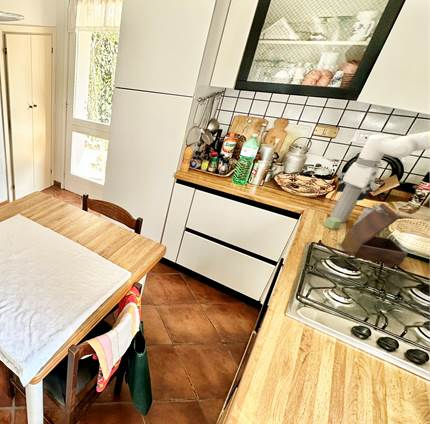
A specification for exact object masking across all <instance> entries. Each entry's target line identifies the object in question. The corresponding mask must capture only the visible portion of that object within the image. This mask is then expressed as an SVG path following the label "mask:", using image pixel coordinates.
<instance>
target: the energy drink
mask: <svg viewBox="0 0 430 424" xmlns="http://www.w3.org/2000/svg"><path fill="white" fill-rule="evenodd" d="M373 210H374V208H373V207H364V208H363V209H362V211H361V213H360V214H359V216H358V218H357V219H356V222H355V223H354V225H355V224H356V223H358V222H359V221H360V220H361V219H363V218H364V217H365V216H367V215H368V214H369V213H370V212H372V211H373Z"/></svg>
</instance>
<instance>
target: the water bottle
mask: <svg viewBox="0 0 430 424" xmlns="http://www.w3.org/2000/svg"><path fill="white" fill-rule="evenodd" d="M360 193H362V189H361V188H360V187H357V186H354V185H352V184H349V183H345V187H344V188H343V190H342V191H341V192H337V195H336V196H335V198H334V199H332V202H331V203H330V205H329V209H330V210H332V212H331V213H330V215H329V217H335V218H337V219H339V220H341V221H342V223H345V222H347V221H348V220H349V217H350V216H351V214H352V212H353V210H354V209H355V207H356V205H357V203H358V202H359V201H358V200H357V198H358V196H359V195H360ZM336 198H337V200H336ZM335 200H336V201H335ZM334 201H335V203H334ZM333 203H334V206H333V207H331V206H332V204H333Z"/></svg>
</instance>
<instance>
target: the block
mask: <svg viewBox="0 0 430 424" xmlns="http://www.w3.org/2000/svg"><path fill="white" fill-rule="evenodd" d="M342 223H343V222H342V221H341V220H339V219H337V218H335V217H330V216H329V217H327V218H326V220H325V221H324V223H323V226H325V227H327V228H329V229H331V230H336V229H337V230H338V229H339V228H340V227H341V224H342Z"/></svg>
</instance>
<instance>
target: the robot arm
mask: <svg viewBox="0 0 430 424" xmlns="http://www.w3.org/2000/svg"><path fill="white" fill-rule="evenodd" d="M424 150H430V131H425V132H419V133H413V134H407V135H403V136H399V137H397V138H392V137H390V136H389V135H385V134H370V136H369V137H368V138H367V140H366V142H365V143H364V146H363V147H362V149H361V151H360V153H359V155H358V157H357V158H356V161H354V162H353V163H352V164H351V165H350V166H349V167H348V169H347V170H346V172H338V173H337V182H338V186H337V187H336V190H335V192H336V193H342V192H343V190H344V188H345V186H346V184H345V183H349V184H352V185H354V186H357V187H360V188H361V189H362V193H360V195H359V196H358V198H357V200H358V201H357V202H359V201H363V200H365V199H366V197H367V195H368V194H370V193H372V192H375V191H377V190H378V189H379V188H380V186H378V184H377V183H376V182H375V181H376V178H377V176H378V173H379V169H380V167H382V166H383V163H381V162H382V161H381V160H382V159H383V157H384V155H386V156H390V157H393V158H397V159H398V158H399V159H400V158H401V159H402V158H406V157H409V156H410V155H412V154H413V152H418V151H424ZM341 191H342V192H341Z"/></svg>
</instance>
